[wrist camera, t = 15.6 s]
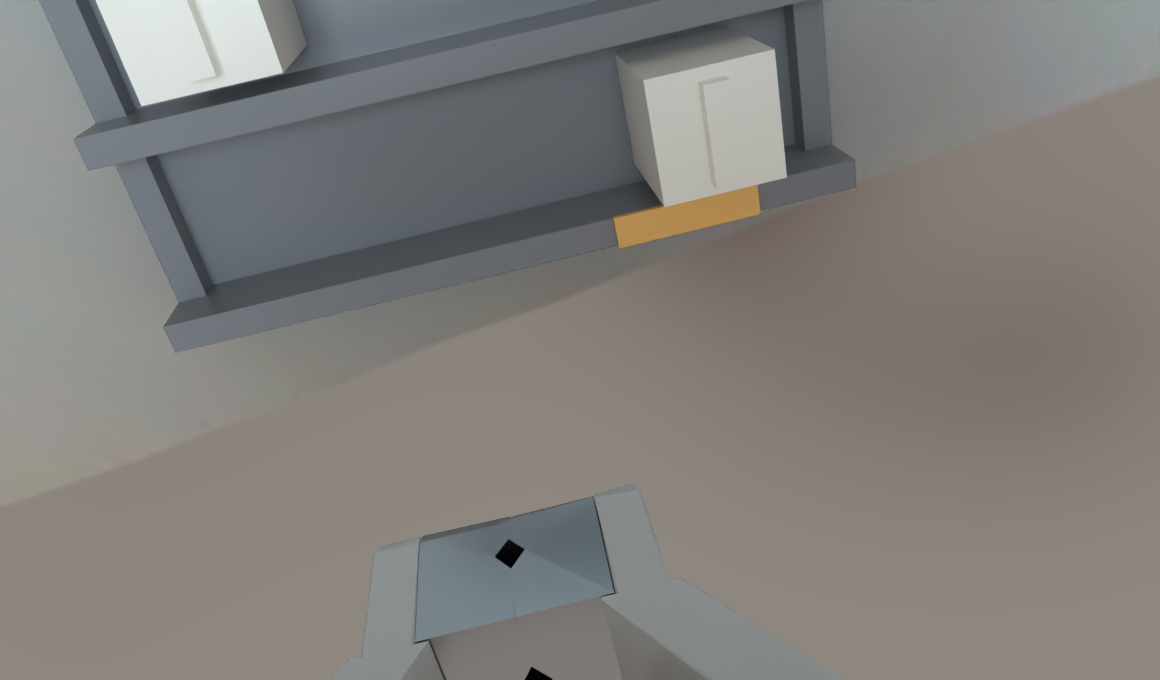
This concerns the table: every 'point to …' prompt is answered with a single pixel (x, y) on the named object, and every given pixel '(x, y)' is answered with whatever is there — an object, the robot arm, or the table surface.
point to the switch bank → (420, 149)
